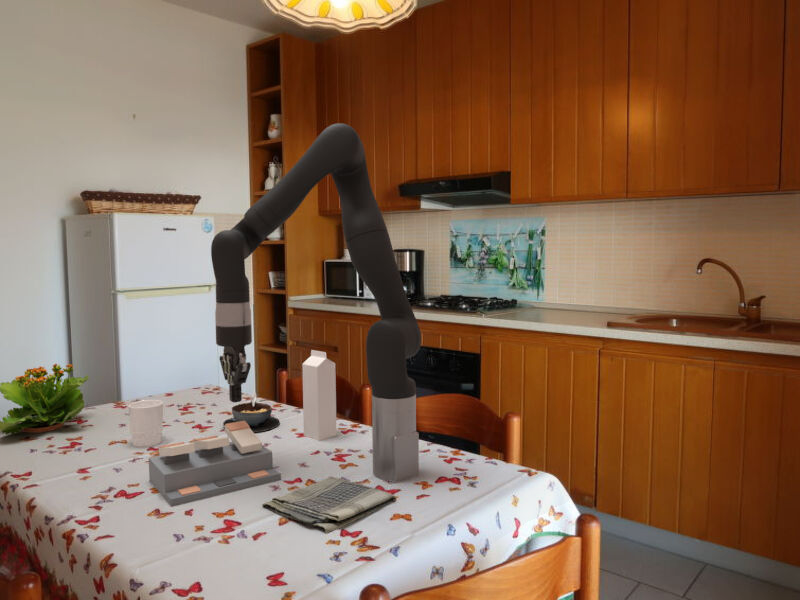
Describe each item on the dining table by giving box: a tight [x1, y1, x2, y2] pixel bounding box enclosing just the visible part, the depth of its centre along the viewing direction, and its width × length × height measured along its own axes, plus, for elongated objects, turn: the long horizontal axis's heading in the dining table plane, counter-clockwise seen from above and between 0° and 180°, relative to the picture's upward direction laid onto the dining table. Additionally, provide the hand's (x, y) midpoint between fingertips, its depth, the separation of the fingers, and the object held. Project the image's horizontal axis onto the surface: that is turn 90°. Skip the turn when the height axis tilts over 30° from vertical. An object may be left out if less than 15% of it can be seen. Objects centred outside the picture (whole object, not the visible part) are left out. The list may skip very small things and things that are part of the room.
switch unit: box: [148, 441, 282, 507], centre depth 126 cm, size 16×22×6 cm
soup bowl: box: [222, 392, 280, 433], centre depth 166 cm, size 15×16×7 cm
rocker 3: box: [224, 421, 263, 454], centre depth 132 cm, size 10×4×2 cm, turn 36°
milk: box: [301, 349, 337, 441], centre depth 156 cm, size 6×6×22 cm
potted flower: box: [0, 363, 90, 435], centre depth 166 cm, size 25×24×18 cm
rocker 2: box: [192, 435, 230, 449], centre depth 128 cm, size 10×4×2 cm, turn 36°
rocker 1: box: [158, 441, 195, 456], centre depth 124 cm, size 10×4×2 cm, turn 36°
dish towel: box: [262, 476, 397, 535], centre depth 114 cm, size 19×18×3 cm
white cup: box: [128, 399, 164, 448], centre depth 152 cm, size 8×8×10 cm
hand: (235, 401), depth 134 cm, fingers closed
